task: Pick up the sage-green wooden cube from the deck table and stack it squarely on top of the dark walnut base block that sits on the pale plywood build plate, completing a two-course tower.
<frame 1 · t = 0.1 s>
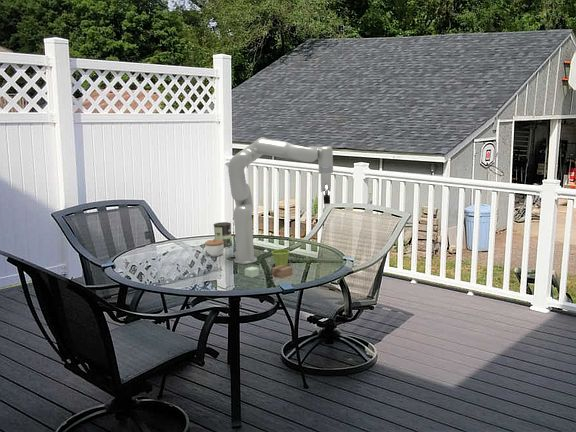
hand: (326, 202, 320), 31 cm above the table, tool pointing down, fingers open, 9 cm apart
coffee can: (223, 247, 363), on the table
walnut base block: (282, 275, 295), point 1 cm above the table, touching build plate
lidded jar: (215, 255, 344), on the table
plant pot: (281, 268, 313), on the table
sage cube: (252, 278, 297), on the table
build plate: (282, 277, 295), on the table
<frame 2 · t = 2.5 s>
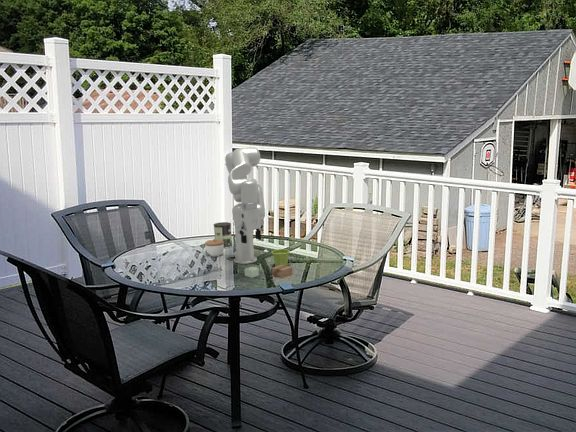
hand: (251, 241, 293), 19 cm above the table, tool pointing down, fingers open, 9 cm apart
nothing on the table moved.
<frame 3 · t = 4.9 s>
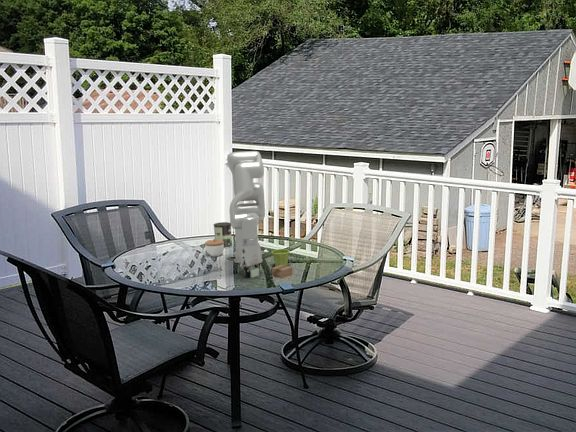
hand: (252, 277, 296), 0 cm above the table, tool pointing down, fingers closed on sage cube, 5 cm apart
sage cube: (252, 278, 297), on the table, touching gripper
everything else where it was.
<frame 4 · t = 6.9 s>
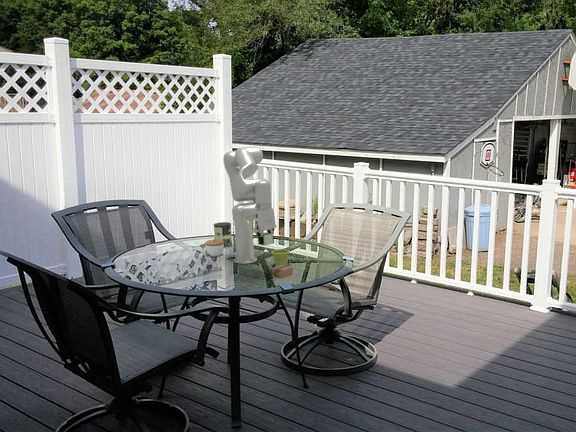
hand: (265, 242, 292), 18 cm above the table, tool pointing down, fingers closed on sage cube, 5 cm apart
sage cube: (265, 244, 292), point 17 cm above the table, touching gripper
everything else where it was.
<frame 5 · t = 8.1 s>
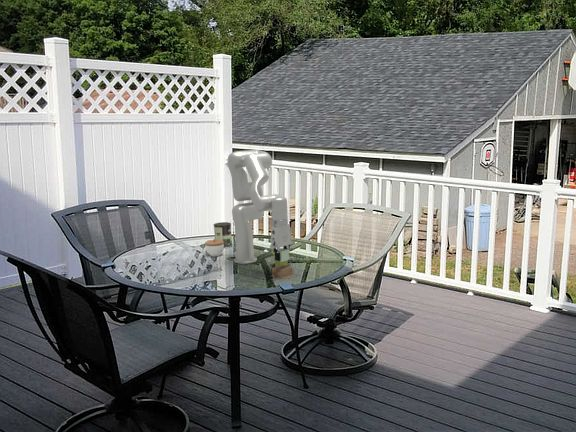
hand: (281, 258, 293), 10 cm above the table, tool pointing down, fingers closed on sage cube, 5 cm apart
sage cube: (281, 259, 293), point 9 cm above the table, touching gripper
everything else where it was.
when the fingers open (7 cm above the table, at t = 9.0 s): sage cube stays where it is, resting on walnut base block.
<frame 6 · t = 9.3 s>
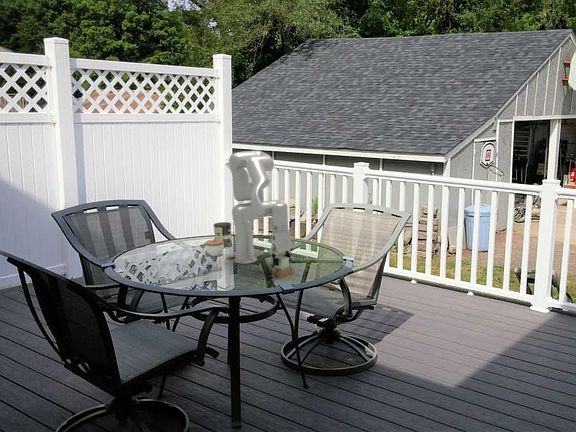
hand: (281, 263, 294), 7 cm above the table, tool pointing down, fingers open, 7 cm apart
walnut base block: (282, 275, 295), point 1 cm above the table, touching build plate, sage cube
sage cube: (282, 267, 294), point 5 cm above the table, touching walnut base block
everything else where it was.
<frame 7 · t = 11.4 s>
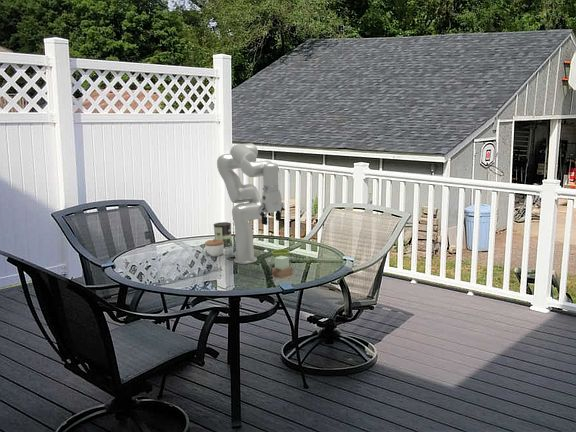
hand: (271, 222, 298), 26 cm above the table, tool pointing down, fingers open, 9 cm apart
nothing on the table moved.
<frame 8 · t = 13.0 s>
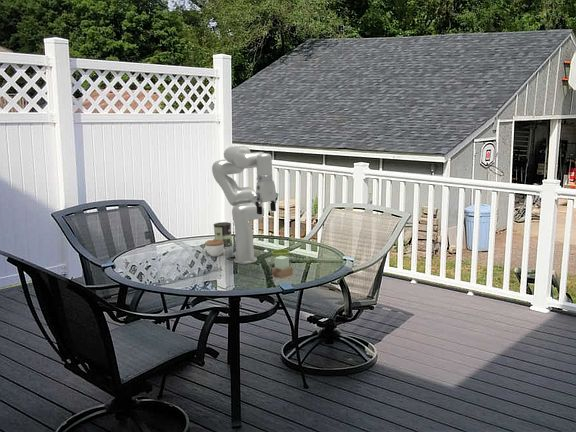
hand: (266, 212, 302), 30 cm above the table, tool pointing down, fingers open, 9 cm apart
nothing on the table moved.
at the end: sage cube 0.0 cm off-centre on the walnut base block, point 4.0 cm above the walnut base block's base; sage cube tilted 0°; walnut base block moved 0.0 cm from its start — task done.
